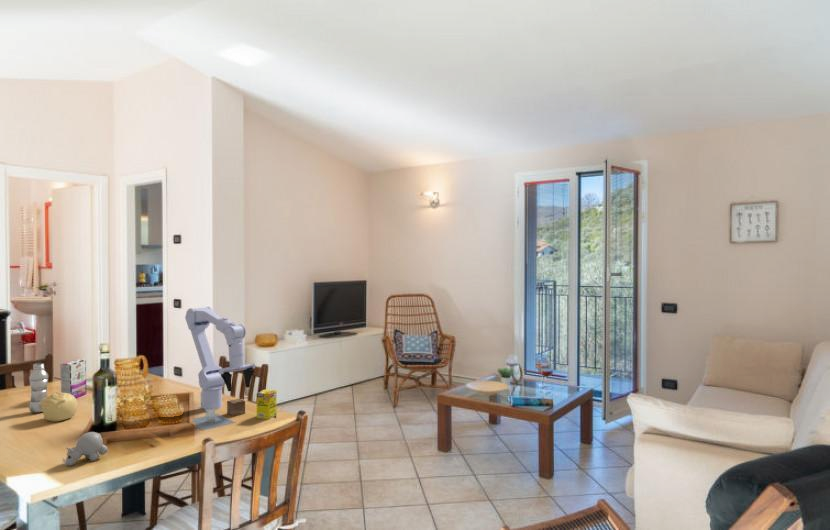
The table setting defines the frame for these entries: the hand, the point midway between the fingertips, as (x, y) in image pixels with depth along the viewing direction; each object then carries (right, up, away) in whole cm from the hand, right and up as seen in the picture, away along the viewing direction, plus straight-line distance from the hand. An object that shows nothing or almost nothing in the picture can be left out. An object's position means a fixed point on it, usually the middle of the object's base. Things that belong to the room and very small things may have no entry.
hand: (238, 389), depth 214 cm
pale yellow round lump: (-70, -12, -3) cm, 71 cm away
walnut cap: (-2, -11, +2) cm, 12 cm away
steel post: (-8, -11, -9) cm, 16 cm away
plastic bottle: (-85, -11, +7) cm, 86 cm away
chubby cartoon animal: (-34, -13, -45) cm, 58 cm away
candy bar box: (-86, -11, +30) cm, 91 cm away
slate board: (-8, -12, -9) cm, 17 cm away
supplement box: (+12, -12, -2) cm, 17 cm away
